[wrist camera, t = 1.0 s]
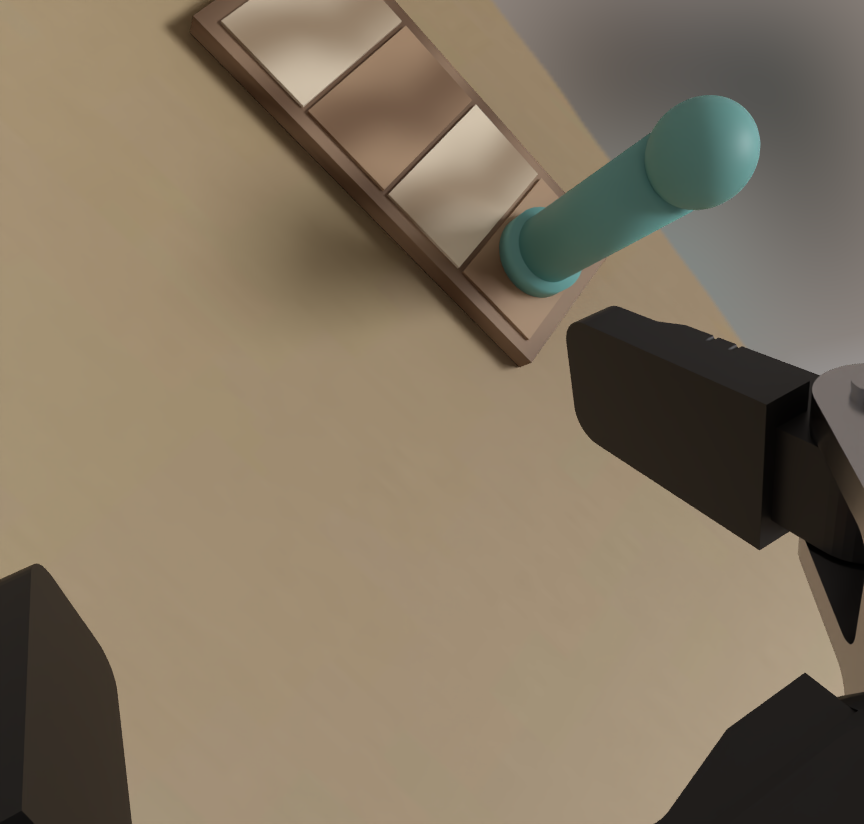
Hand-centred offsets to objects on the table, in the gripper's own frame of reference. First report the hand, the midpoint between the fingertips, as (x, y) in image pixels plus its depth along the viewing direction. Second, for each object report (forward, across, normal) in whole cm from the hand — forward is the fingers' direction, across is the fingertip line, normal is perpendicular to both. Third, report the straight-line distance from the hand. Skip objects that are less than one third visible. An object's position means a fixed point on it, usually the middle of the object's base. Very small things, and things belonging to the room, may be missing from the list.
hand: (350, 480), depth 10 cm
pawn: (+24, -18, +8) cm, 31 cm away
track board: (+28, -15, +2) cm, 32 cm away
